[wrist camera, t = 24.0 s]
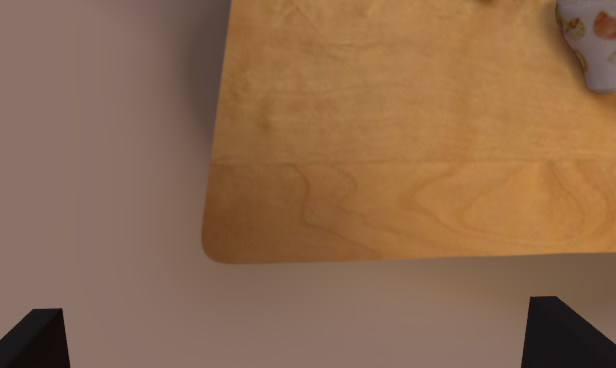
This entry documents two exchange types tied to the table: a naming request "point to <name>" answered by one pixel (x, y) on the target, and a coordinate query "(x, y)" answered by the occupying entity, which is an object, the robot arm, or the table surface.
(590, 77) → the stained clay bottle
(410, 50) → the table surface
